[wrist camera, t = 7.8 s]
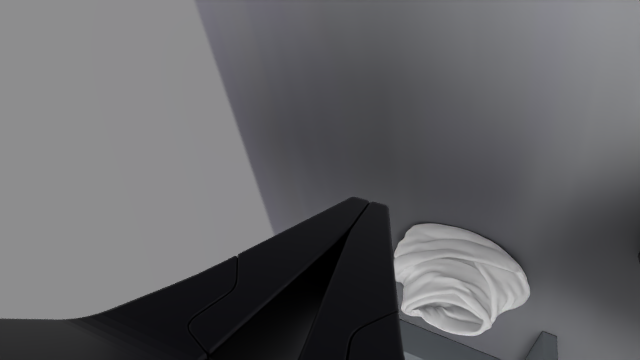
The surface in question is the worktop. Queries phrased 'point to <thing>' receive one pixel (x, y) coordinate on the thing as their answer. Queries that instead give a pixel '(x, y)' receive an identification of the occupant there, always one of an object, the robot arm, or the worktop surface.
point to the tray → (461, 346)
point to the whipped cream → (457, 278)
